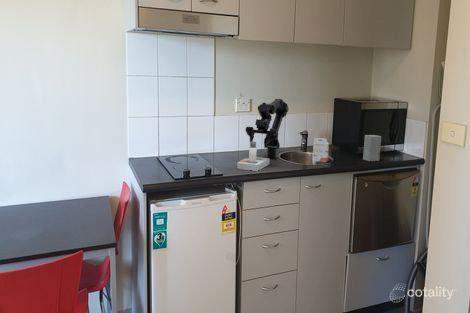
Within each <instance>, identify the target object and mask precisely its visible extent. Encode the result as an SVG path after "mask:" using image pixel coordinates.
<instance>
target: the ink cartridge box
mask: <svg viewBox="0 0 470 313" xmlns="http://www.w3.org/2000/svg"><path fill="white" fill-rule="evenodd" d="M329 144H330V143H329V142H328V139H327V138H324V137H313V143H312V147H313V148H312V161H313V162H318V163H327V162H328V160H329Z"/></svg>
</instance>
